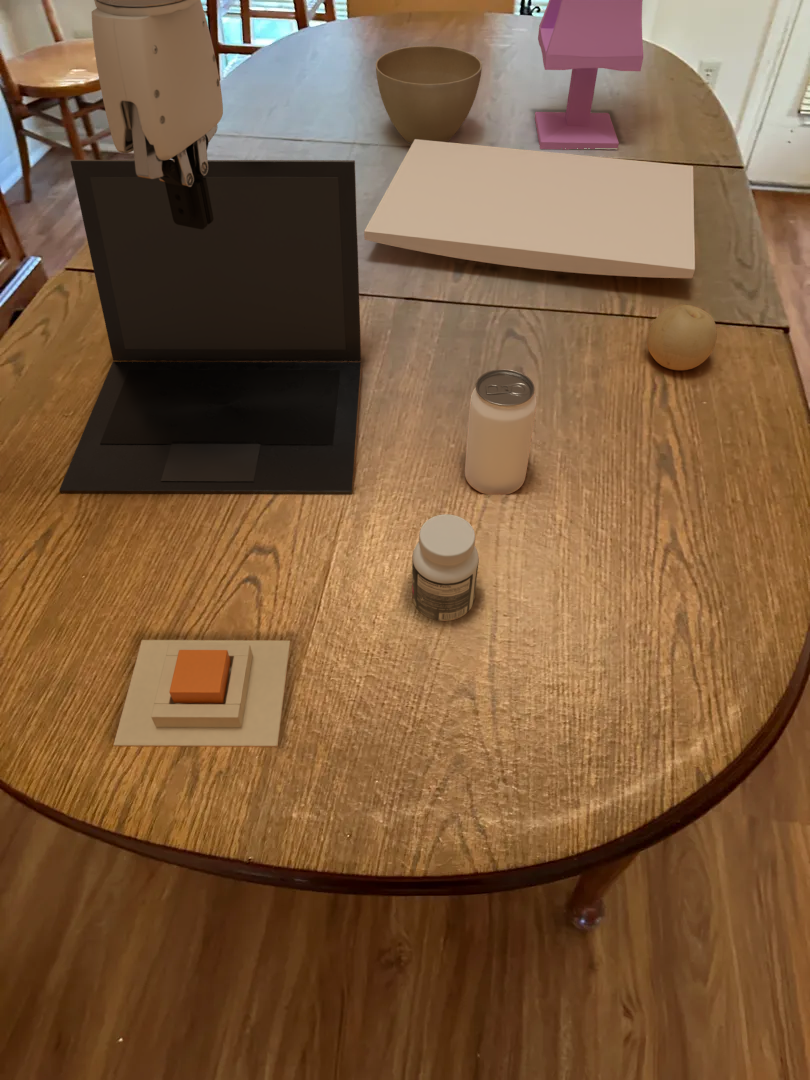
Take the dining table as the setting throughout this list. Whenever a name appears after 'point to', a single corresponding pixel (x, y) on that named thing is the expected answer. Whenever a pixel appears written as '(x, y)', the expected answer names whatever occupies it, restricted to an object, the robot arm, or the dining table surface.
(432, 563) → the pill bottle
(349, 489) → the laptop
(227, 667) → the push button
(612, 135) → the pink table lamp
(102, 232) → the laptop screen
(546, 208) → the board
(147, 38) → the robot arm
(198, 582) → the dining table surface
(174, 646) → the stepped tan base
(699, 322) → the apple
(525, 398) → the can
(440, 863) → the dining table surface
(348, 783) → the dining table surface
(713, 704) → the dining table surface
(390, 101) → the flower pot
